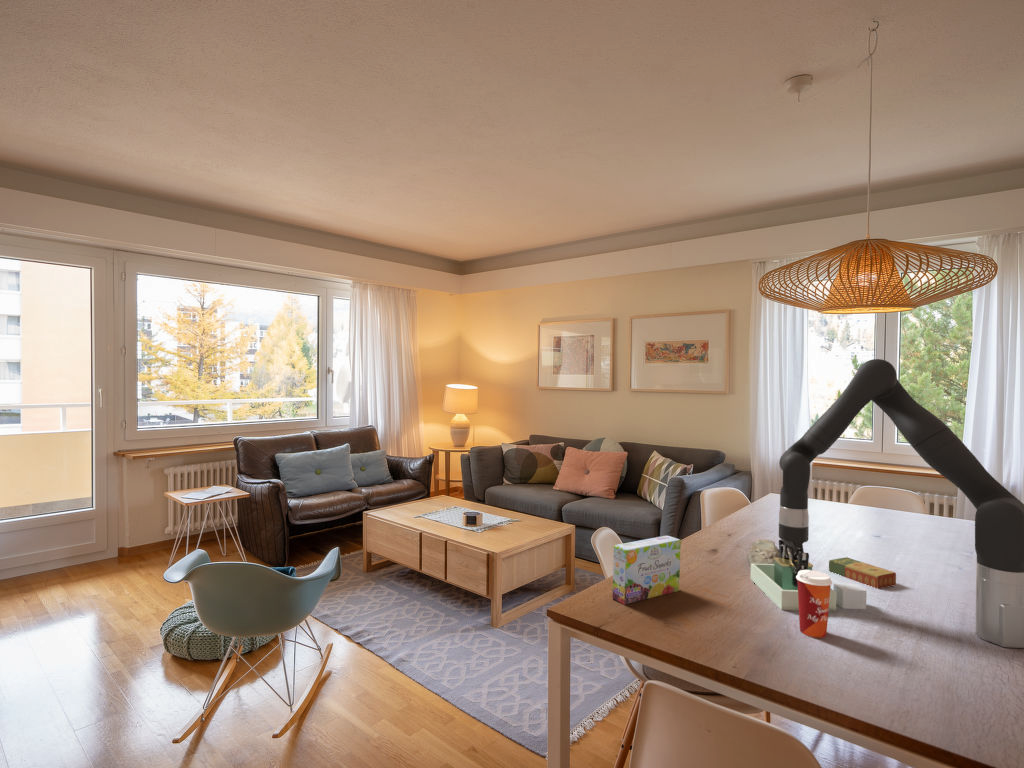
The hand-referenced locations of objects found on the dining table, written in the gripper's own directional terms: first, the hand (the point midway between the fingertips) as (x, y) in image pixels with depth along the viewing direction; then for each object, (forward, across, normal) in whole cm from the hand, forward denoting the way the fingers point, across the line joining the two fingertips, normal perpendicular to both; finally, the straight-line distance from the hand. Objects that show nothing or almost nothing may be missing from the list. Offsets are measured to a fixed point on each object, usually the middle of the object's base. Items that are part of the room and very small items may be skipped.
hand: (792, 582), depth 158 cm
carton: (+4, +16, -27) cm, 32 cm away
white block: (+4, -6, -12) cm, 14 cm away
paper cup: (+4, -24, +6) cm, 25 cm away
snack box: (+4, -4, +41) cm, 42 cm away
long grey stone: (+4, +32, -4) cm, 32 cm away
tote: (+4, 0, +1) cm, 4 cm away
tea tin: (+1, 0, 0) cm, 1 cm away
